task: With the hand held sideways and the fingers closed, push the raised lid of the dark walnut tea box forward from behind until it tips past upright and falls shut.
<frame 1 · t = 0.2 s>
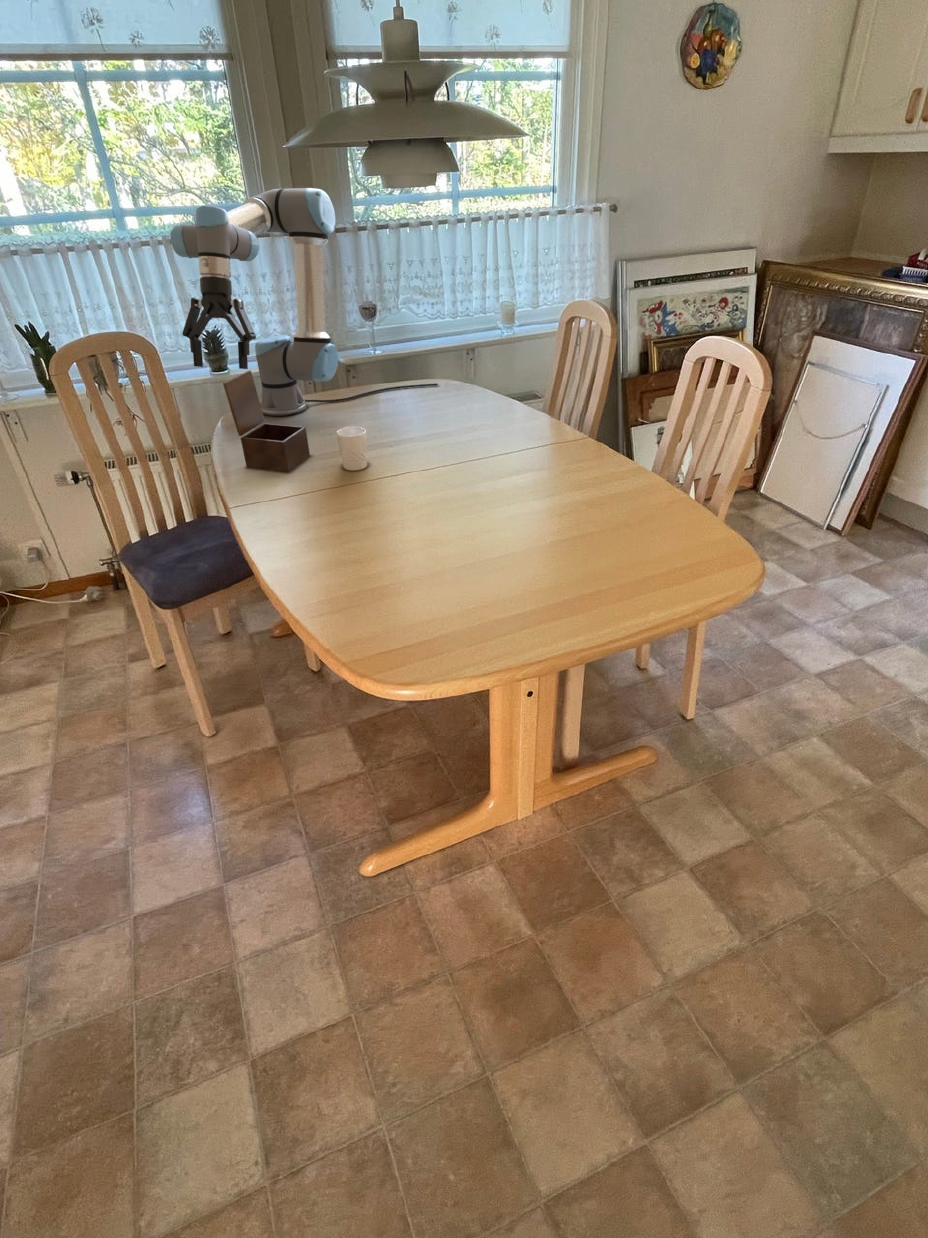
hand: (220, 367, 180), 27 cm above the table, tool tilted 15°, fingers open, 13 cm apart
white cup: (355, 466, 194), on the table
tea box: (278, 461, 198), on the table
lid: (244, 403, 191), point 16 cm above the table, hinge at 96.0°
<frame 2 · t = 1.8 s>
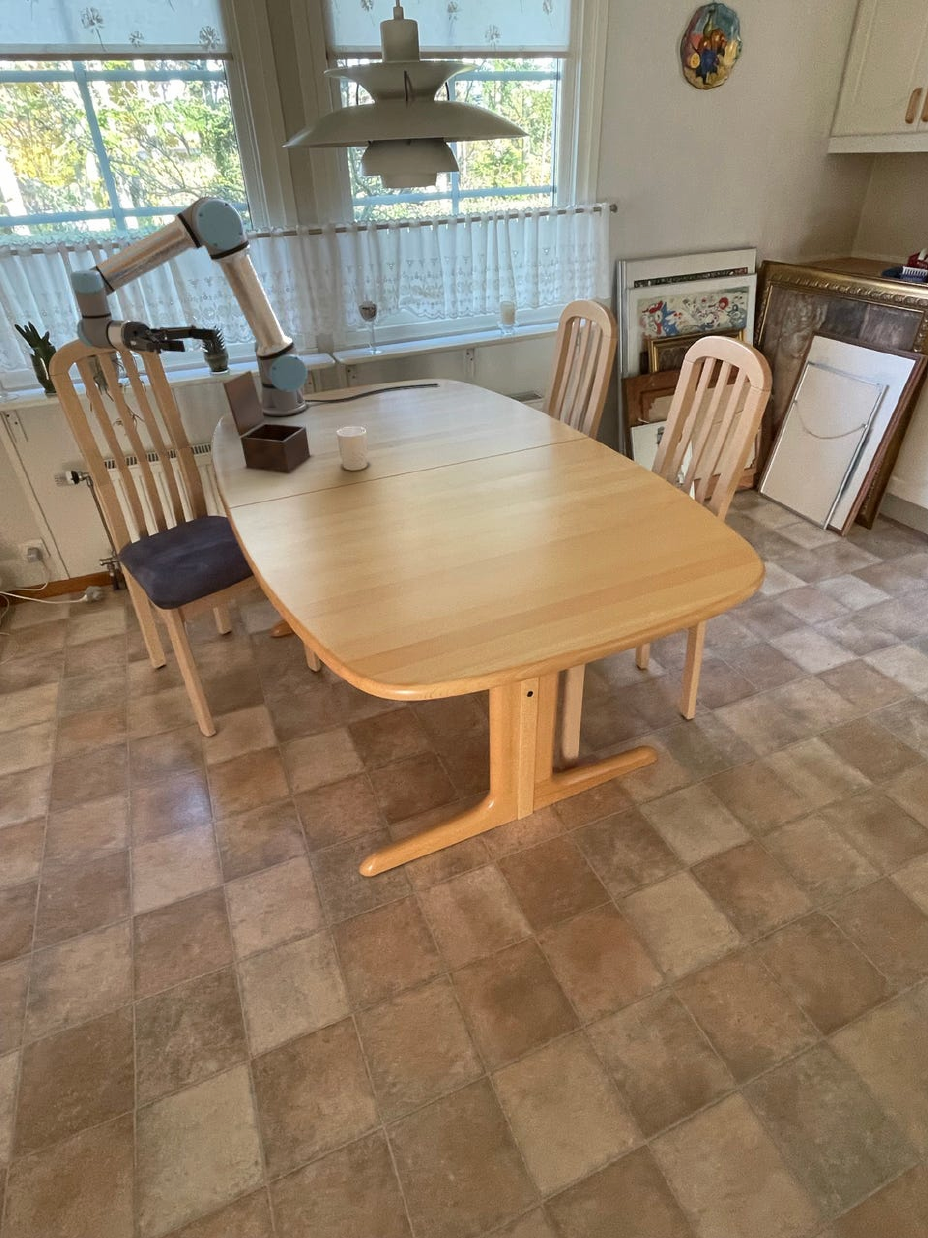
hand: (198, 340, 185), 32 cm above the table, tool horizontal, fingers open, 13 cm apart
nothing on the table moved.
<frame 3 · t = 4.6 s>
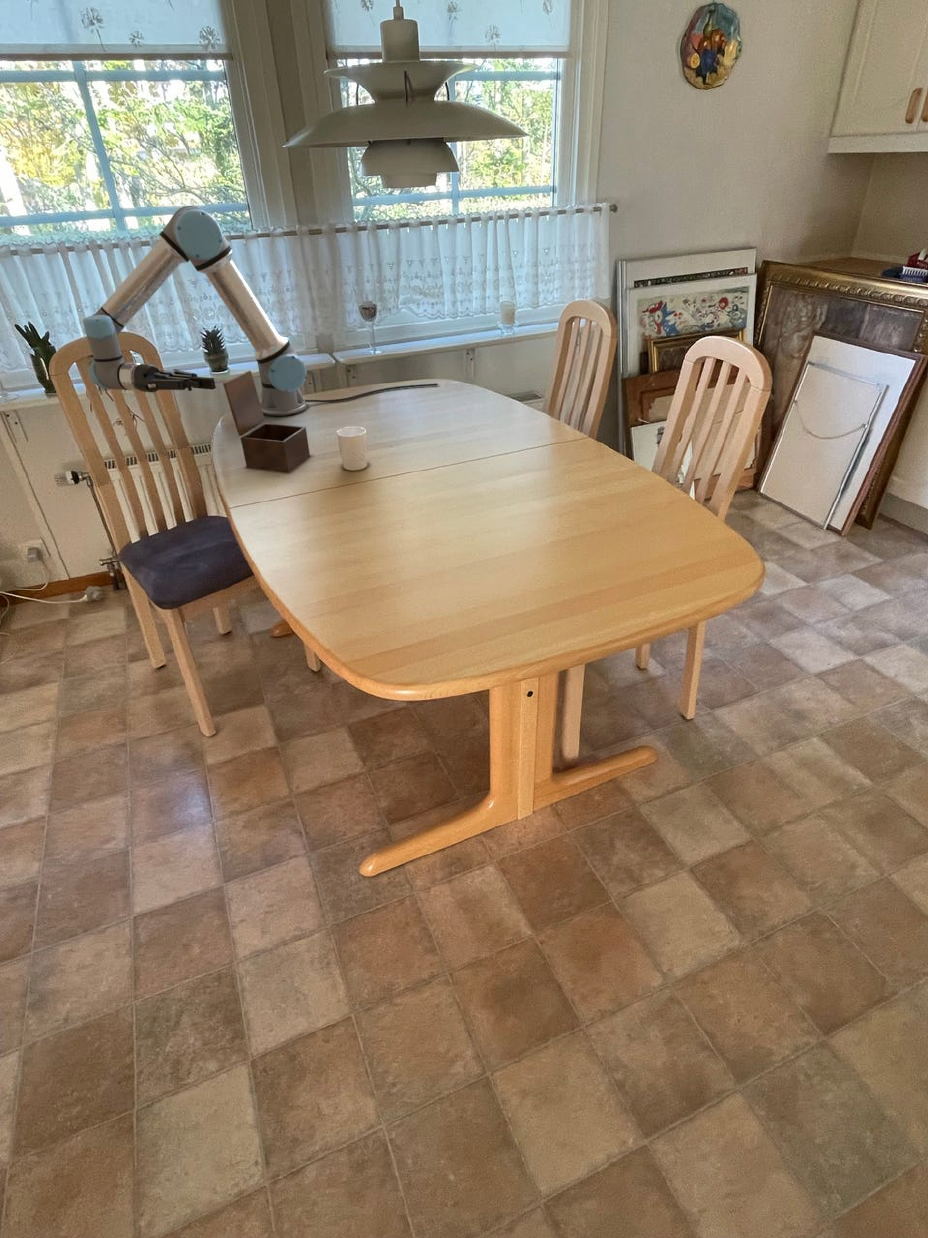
hand: (213, 383, 190), 21 cm above the table, tool horizontal, fingers closed
nothing on the table moved.
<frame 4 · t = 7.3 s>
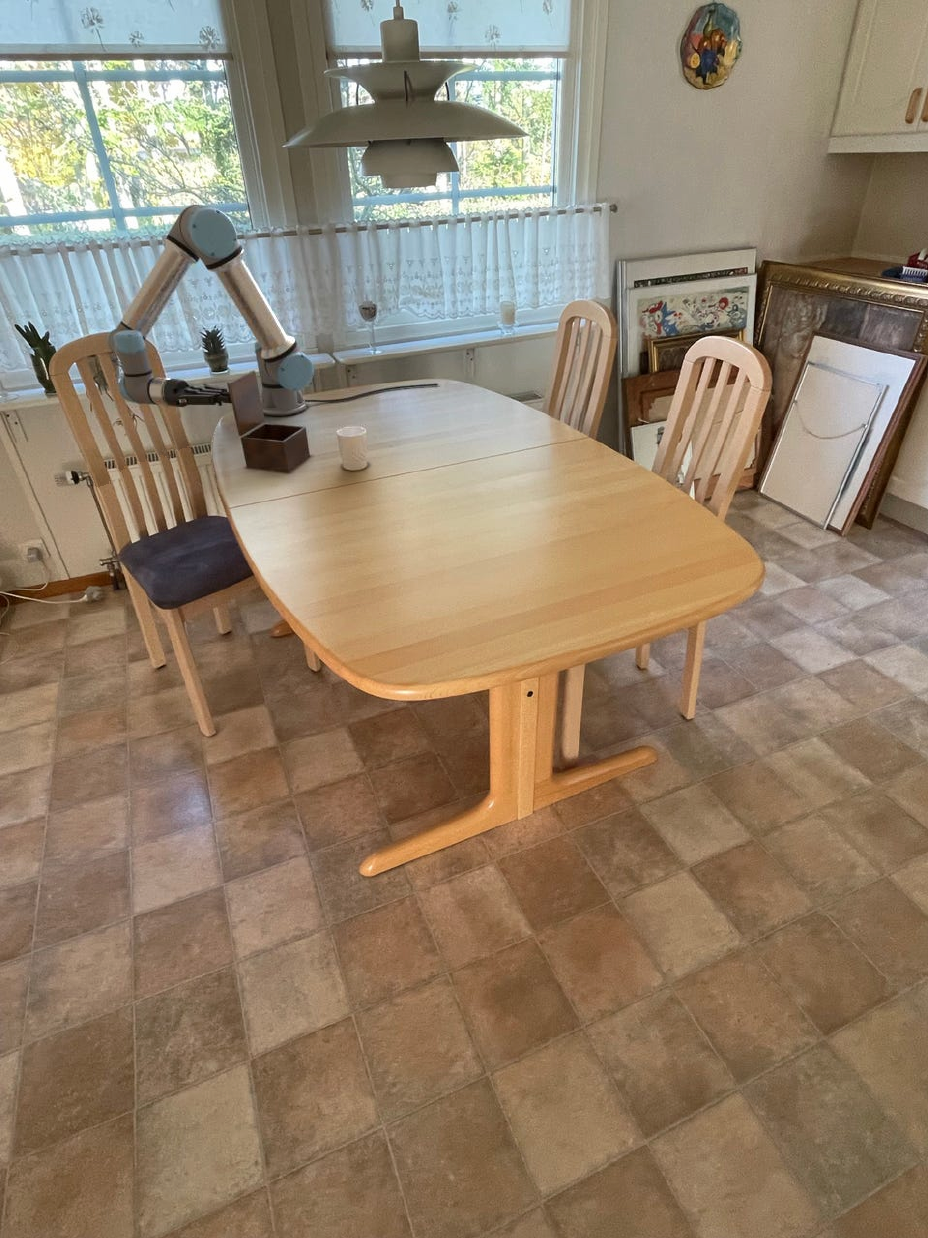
hand: (243, 398, 190), 17 cm above the table, tool horizontal, fingers closed
lid: (246, 403, 190), point 16 cm above the table, hinge at 90.4°, touching gripper
everything else where it was.
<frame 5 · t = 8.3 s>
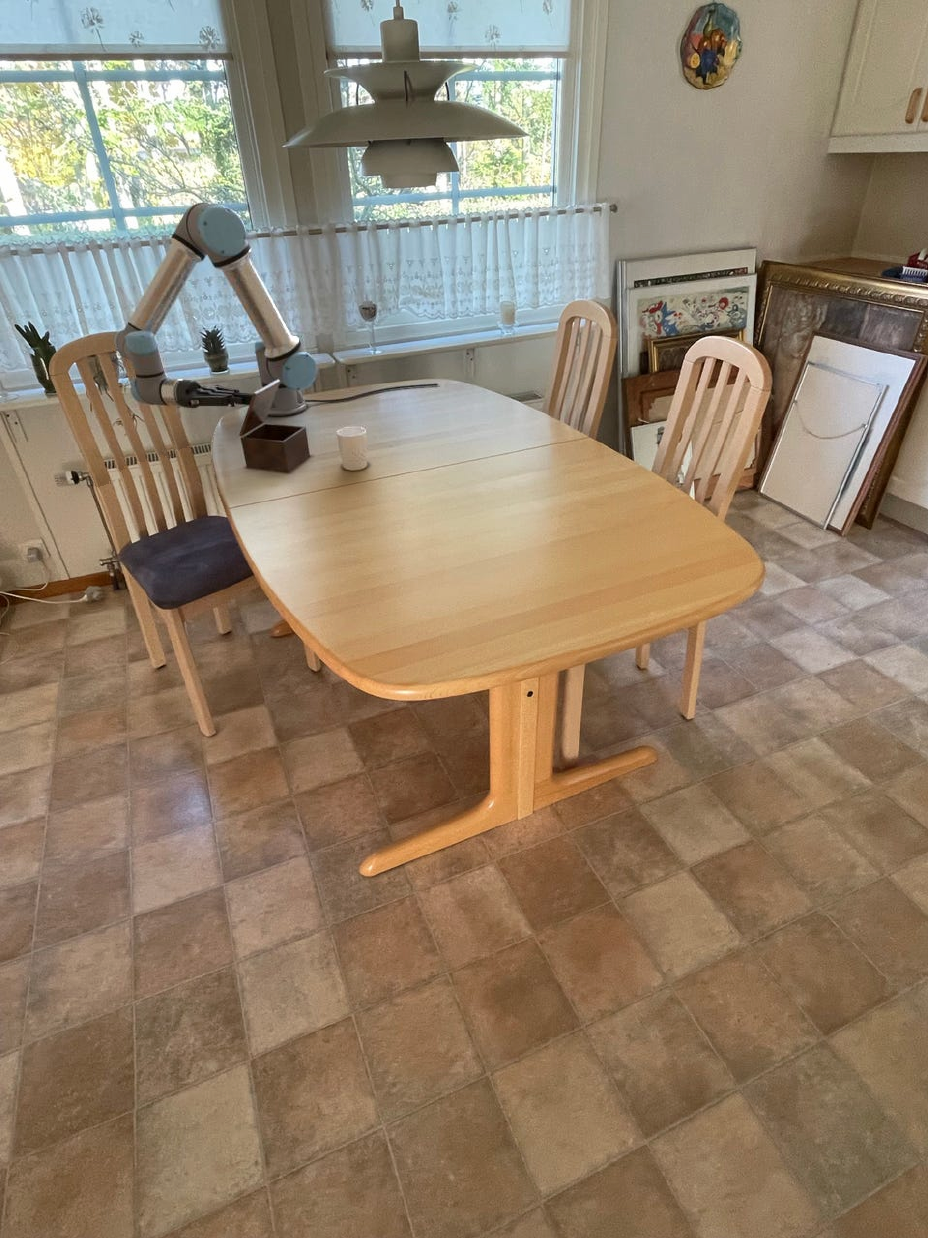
hand: (256, 399, 189), 17 cm above the table, tool horizontal, fingers closed
lid: (259, 407, 190), point 15 cm above the table, hinge at 58.5°
everything else where it was.
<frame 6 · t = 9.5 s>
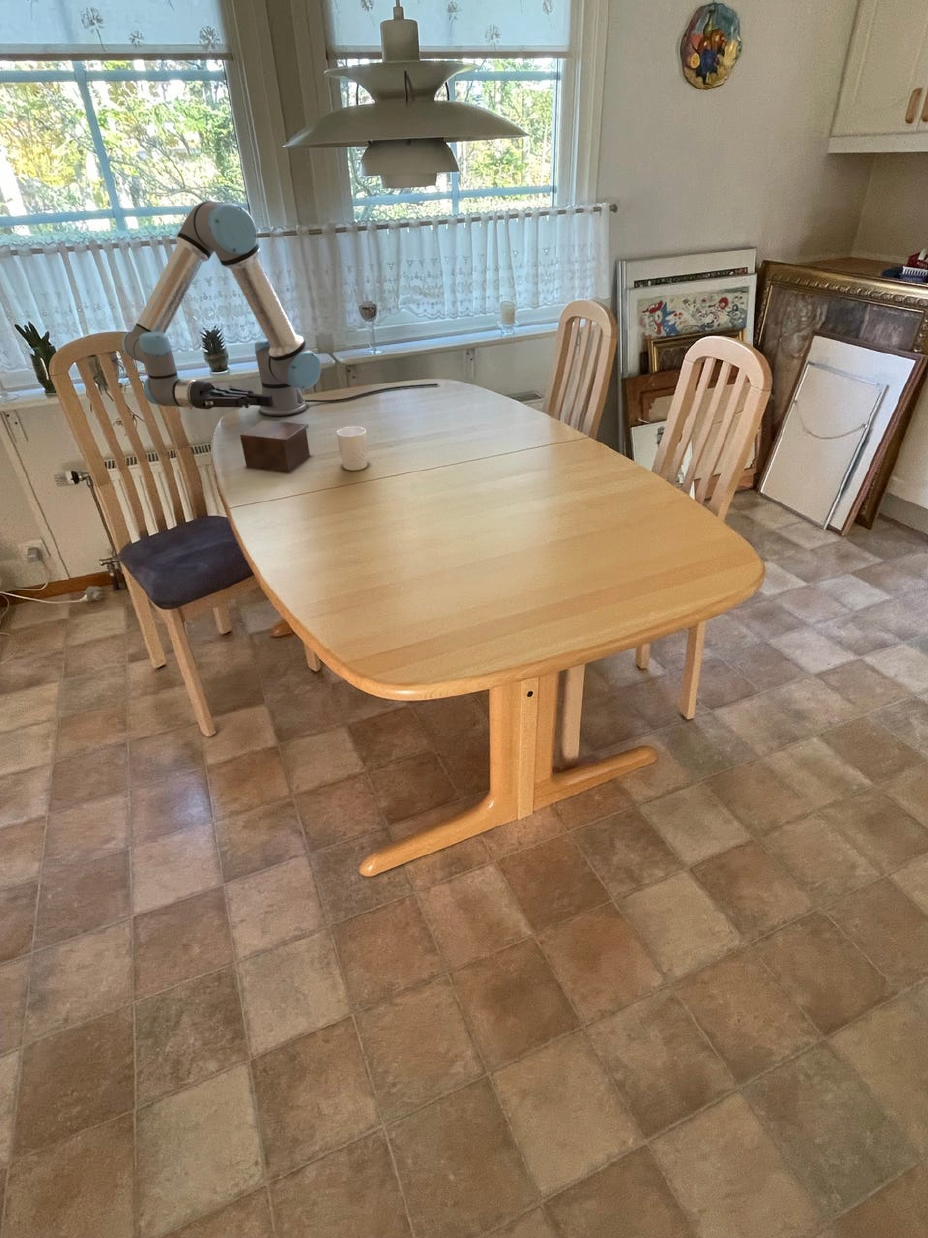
hand: (270, 400, 188), 17 cm above the table, tool horizontal, fingers closed
lid: (274, 430, 193), point 9 cm above the table, hinge at -0.2°
everything else where it was.
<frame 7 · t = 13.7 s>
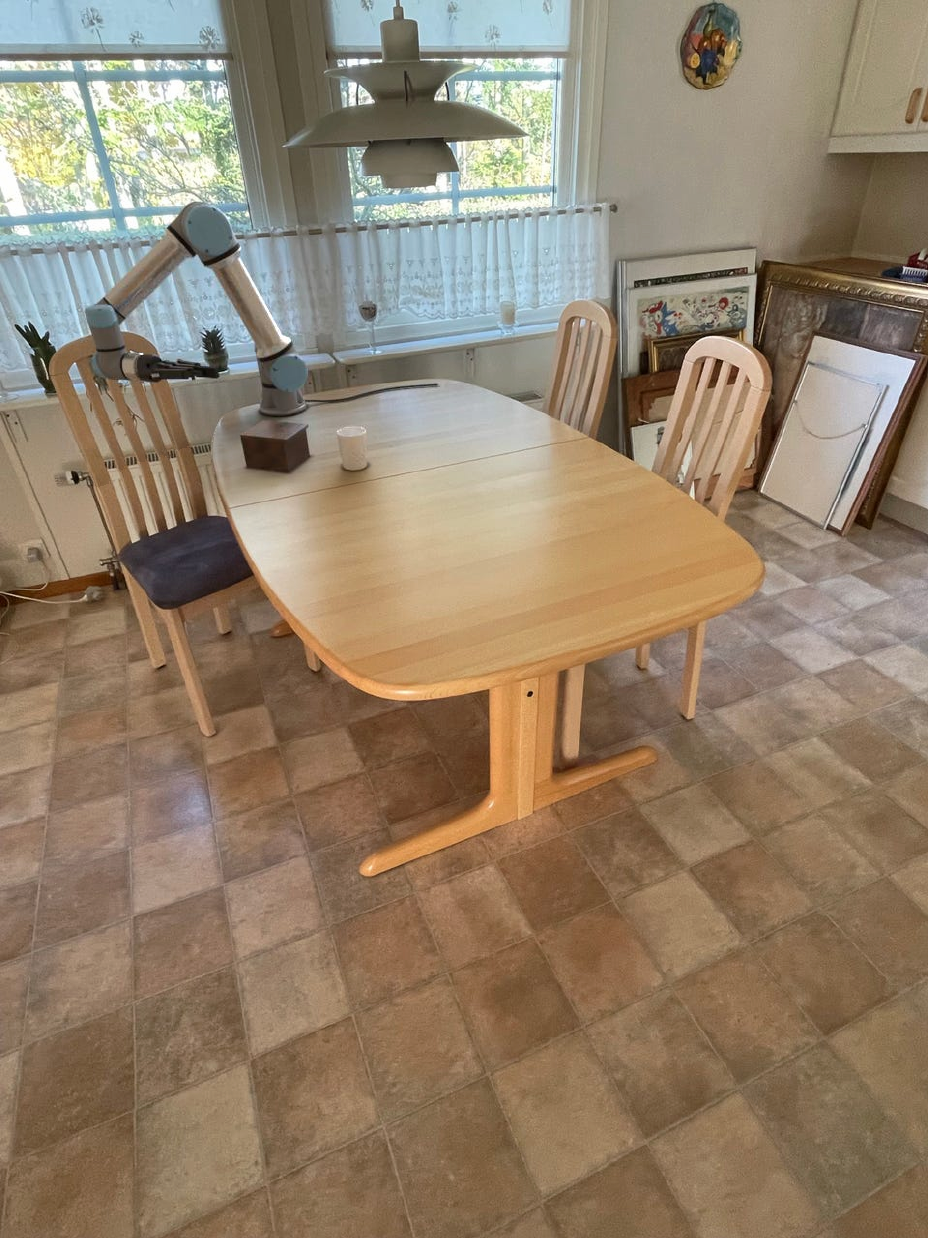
hand: (216, 372, 188), 24 cm above the table, tool horizontal, fingers closed
nothing on the table moved.
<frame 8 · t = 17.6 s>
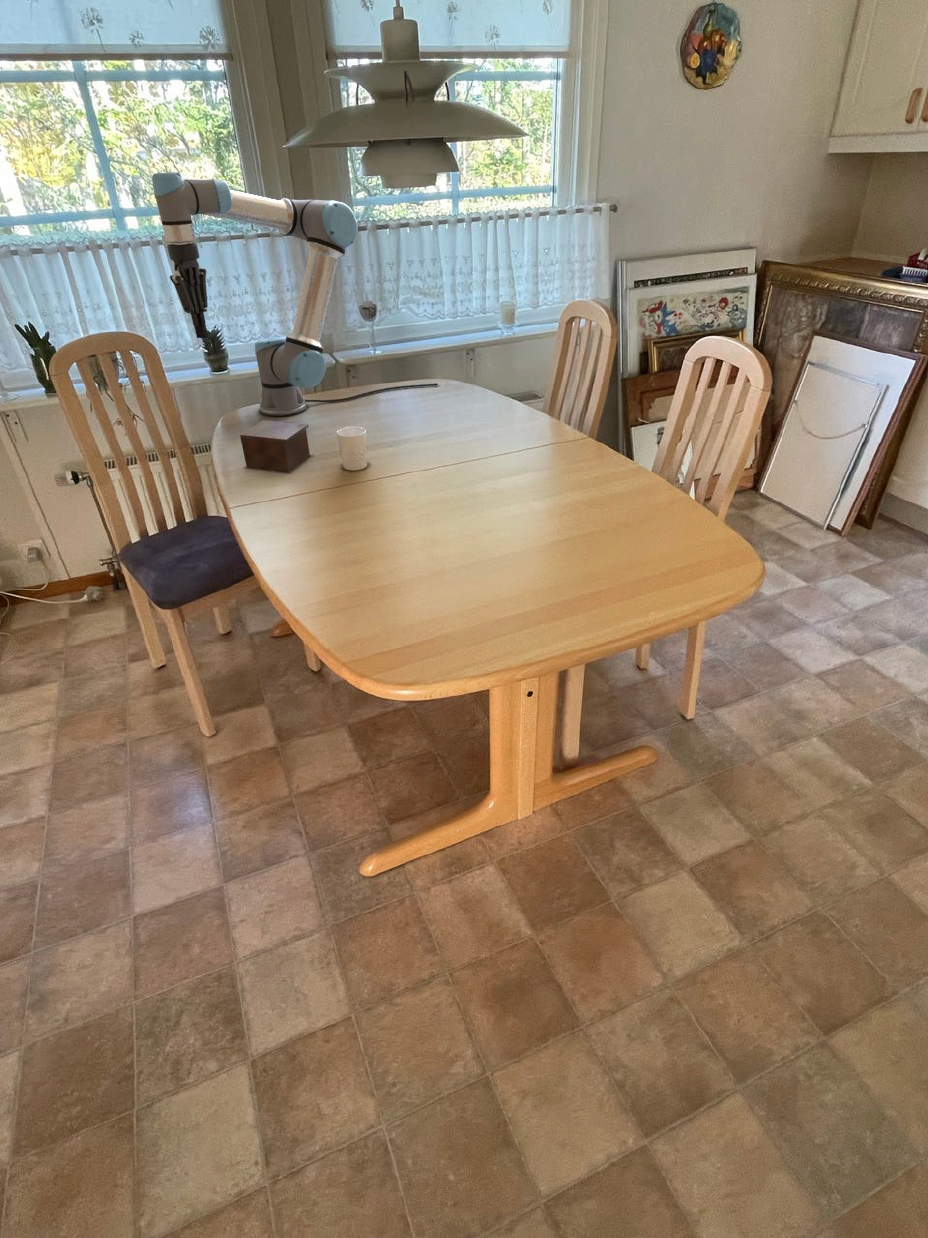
hand: (202, 337, 195), 30 cm above the table, tool pointing down, fingers closed
nothing on the table moved.
at the end: lid at +0° (first picture: +96°) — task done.
